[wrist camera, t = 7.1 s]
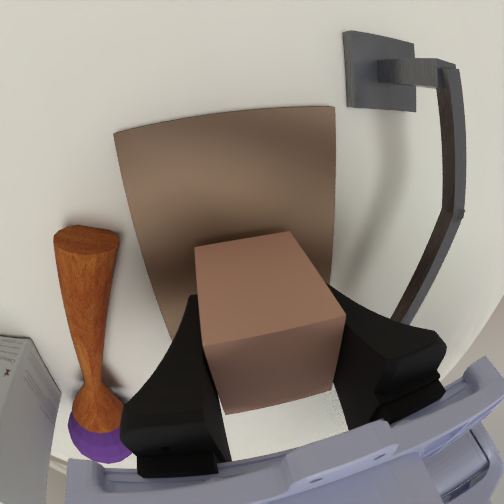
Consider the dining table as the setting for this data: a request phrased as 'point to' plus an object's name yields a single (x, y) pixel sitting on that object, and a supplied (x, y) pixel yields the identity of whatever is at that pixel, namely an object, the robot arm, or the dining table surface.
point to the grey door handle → (404, 99)
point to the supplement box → (25, 422)
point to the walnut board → (227, 189)
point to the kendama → (90, 336)
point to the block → (266, 322)
